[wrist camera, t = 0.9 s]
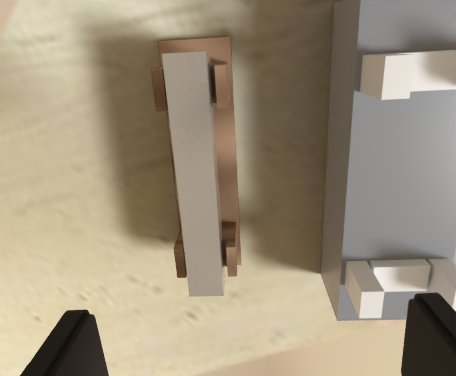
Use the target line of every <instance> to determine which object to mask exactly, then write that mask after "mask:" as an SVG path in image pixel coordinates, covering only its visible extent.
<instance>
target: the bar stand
mask: <svg viewBox="0 0 456 376" xmlns="http://www.w3.org/2000/svg"><path fill="white" fill-rule="evenodd" d="M158 46H159V54H160V63H161V67H159V68H155V69H151V72H152V80H153V88H154V96H155V104H156V111H166V114H167V123H168V132H169V140H170V149H171V157H172V166H173V174H174V183H175V192H176V200H177V209H178V217H179V226H180V232H179V235H178V238H177V241H176V244H175V247H174V254H175V262H176V270H177V278H186V276H187V270H186V261H185V252H184V244H183V235H182V226H181V217H180V209H179V200H178V191H177V182H176V174H175V165H174V156H173V147H172V139H171V130H170V121H169V112H168V104H167V95H166V86H165V77H164V69H163V60H162V54H167V53H184V52H201V51H210V63H211V78H212V93H213V107H214V122H215V137H216V151H217V166H218V181H219V195H220V210H221V225H222V239H223V254H224V266H227V269H228V276H237V265H241V249H240V228H239V207H238V186H237V165H236V144H235V123H234V102H233V81H232V61H231V40H230V37H218V38H201V39H185V40H168V41H158Z"/></svg>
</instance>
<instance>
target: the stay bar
mask: <svg viewBox="0 0 456 376" xmlns="http://www.w3.org/2000/svg"><path fill="white" fill-rule="evenodd" d="M162 60H163V69H164V77H165V86H166V95H167V104H168V112H169V121H170V130H171V139H172V147H173V156H174V165H175V174H176V182H177V191H178V200H179V209H180V217H181V226H182V235H183V244H184V252H185V261H186V270H187V279H188V287H189V296H224V282H225V269H224V254H223V239H222V225H221V210H220V195H219V181H218V166H217V151H216V137H215V122H214V107H213V93H212V78H211V63H210V51H201V52H184V53H167V54H162Z"/></svg>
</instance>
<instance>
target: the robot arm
mask: <svg viewBox="0 0 456 376" xmlns="http://www.w3.org/2000/svg"><path fill="white" fill-rule="evenodd" d="M401 374H402V376H456V311H455V310H454V309H453V308H452V307H451V306H450V305H449V303H448V302H447V301H446V300H445V299H444V298H443V297H442V296H441V295H440V294H439V293H436V292H435V293H417V294H415V296H414V299H410V300H409V302H408V310H407V320H406V329H405V339H404V348H403V357H402V367H401ZM20 376H109V375H108V370H107V366H106V362H105V358H104V353H103V349H102V345H101V341H100V336H99V332H98V328H97V324H96V319H95V316H94V315H93V314H89V312H88V310H68V311H66V312H65V313H64V314H63V316H62V317H61V319H60V320H59V322H58V323H57V324H56V326H55V327H54V329H53V330H52V332H51V333H50V334H49V336H48V337H47V339H46V340H45V342H44V343H43V345H42V346H41V347H40V349H39V350H38V352H37V353H36V355H35V356H34V357H33V359H32V360H31V362H30V363H29V364H28V365H27V366H26V368H25V369H24V371H23V372H22V374H21V375H20Z"/></svg>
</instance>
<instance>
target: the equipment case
mask: <svg viewBox="0 0 456 376" xmlns="http://www.w3.org/2000/svg"><path fill="white" fill-rule="evenodd" d="M321 276H322V279H323V282H324V285H325V288H326V290H327V293H328V296H329V299H330V302H331V304H332V307H333V310H334V313H335V316H336V318H337V321H348V320H400V319H407V310H408V302H409V300H410V299H414V296H415V294H417V293H435V292H436V293H439V294H440V295H441V296H442V297H443V298H444V299H445V300H446V301H447V302H448V303H449V305H450V306H451V307H452V308H453V309H454V310H455V311H456V0H341V1H339V2H337V3H335V4H334V12H333V33H332V53H331V74H330V94H329V115H328V135H327V156H326V177H325V197H324V218H323V238H322V259H321Z"/></svg>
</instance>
